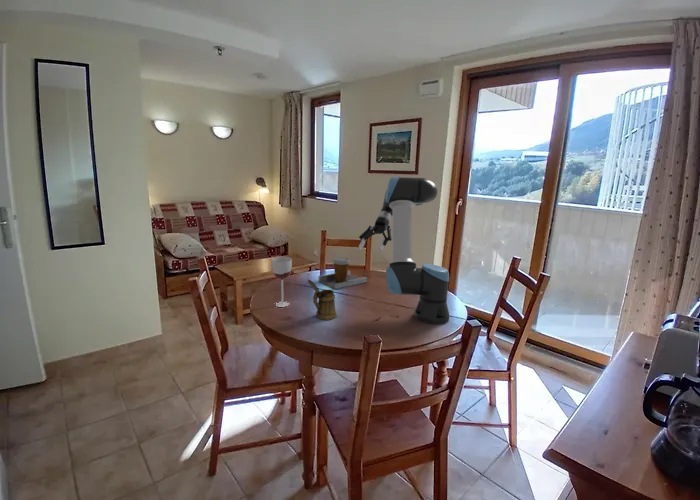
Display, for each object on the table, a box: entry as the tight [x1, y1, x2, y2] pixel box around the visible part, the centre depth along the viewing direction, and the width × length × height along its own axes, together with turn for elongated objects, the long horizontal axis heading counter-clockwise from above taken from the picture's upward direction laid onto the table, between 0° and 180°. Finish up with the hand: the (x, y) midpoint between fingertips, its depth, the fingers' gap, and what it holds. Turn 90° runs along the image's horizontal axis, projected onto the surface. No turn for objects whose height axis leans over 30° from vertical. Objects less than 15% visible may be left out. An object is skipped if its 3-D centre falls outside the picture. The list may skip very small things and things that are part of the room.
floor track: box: [317, 270, 368, 291], centre depth 204 cm, size 22×16×3 cm
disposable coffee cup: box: [332, 256, 351, 281], centre depth 206 cm, size 10×10×12 cm
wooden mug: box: [307, 279, 338, 321], centre depth 155 cm, size 9×14×18 cm, turn 124°
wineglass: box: [271, 256, 293, 307], centre depth 167 cm, size 9×10×22 cm
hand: (369, 249), depth 200 cm, fingers open, 13 cm apart
